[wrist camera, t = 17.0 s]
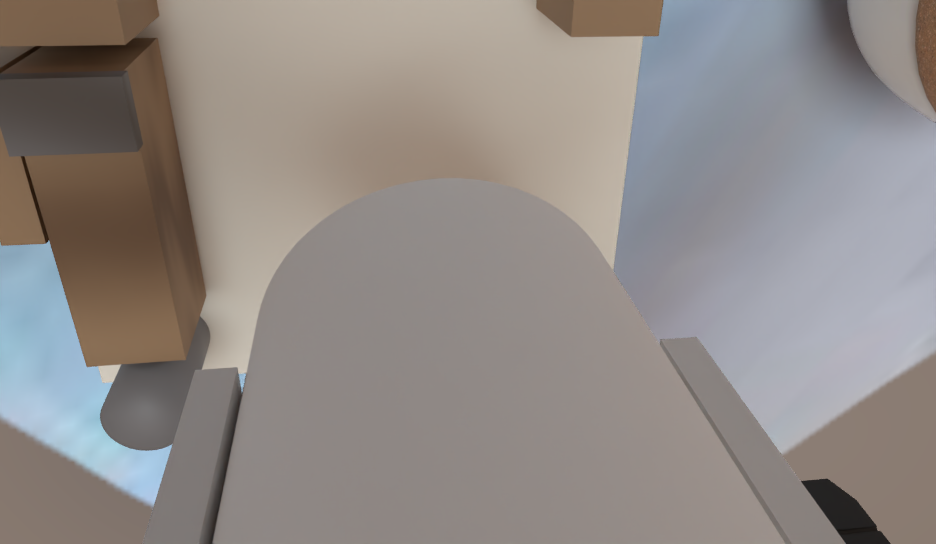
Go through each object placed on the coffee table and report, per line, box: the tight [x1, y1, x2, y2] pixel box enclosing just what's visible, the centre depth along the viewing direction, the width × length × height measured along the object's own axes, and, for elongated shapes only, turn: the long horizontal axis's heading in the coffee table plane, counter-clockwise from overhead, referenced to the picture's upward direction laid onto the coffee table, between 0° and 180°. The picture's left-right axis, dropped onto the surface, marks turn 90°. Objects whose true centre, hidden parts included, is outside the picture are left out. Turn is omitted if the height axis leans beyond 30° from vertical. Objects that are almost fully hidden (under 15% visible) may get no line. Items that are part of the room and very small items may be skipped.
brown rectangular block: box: [0, 38, 206, 367], centre depth 23 cm, size 9×3×5 cm, turn 0°
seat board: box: [0, 0, 663, 451], centre depth 24 cm, size 17×20×6 cm
